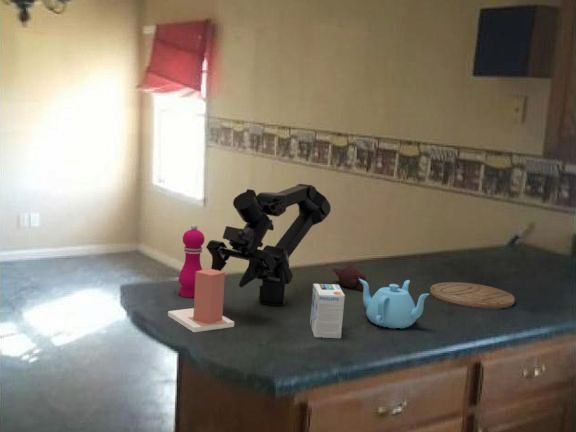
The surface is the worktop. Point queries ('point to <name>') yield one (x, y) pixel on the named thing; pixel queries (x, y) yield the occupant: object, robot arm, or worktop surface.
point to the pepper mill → (191, 260)
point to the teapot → (392, 306)
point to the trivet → (472, 295)
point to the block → (209, 296)
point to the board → (195, 326)
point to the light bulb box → (327, 310)
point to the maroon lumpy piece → (350, 277)
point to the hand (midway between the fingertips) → (225, 282)
